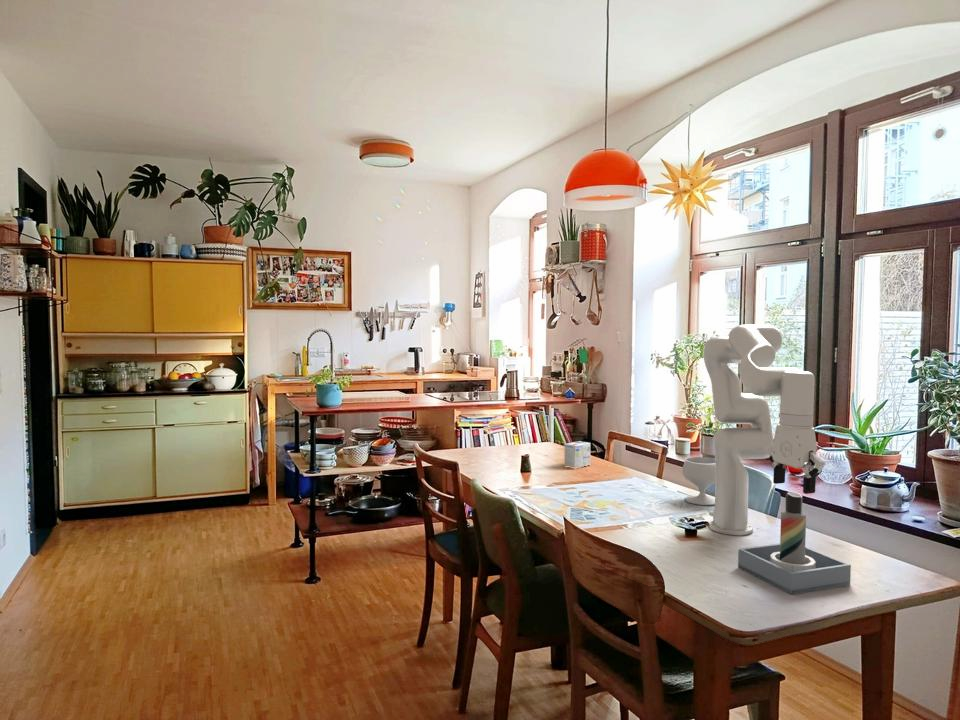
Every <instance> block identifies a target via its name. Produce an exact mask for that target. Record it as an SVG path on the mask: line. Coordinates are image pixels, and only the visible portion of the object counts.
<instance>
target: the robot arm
mask: <svg viewBox="0 0 960 720" xmlns="http://www.w3.org/2000/svg"><path fill="white" fill-rule="evenodd" d="M782 344H783V337H782V334H781V332H780V329H778V328H777V327H776V326H775V325H771V324H740V325H736V326H735V327H733V328H732V329H731V330H730V331H729V333H728V335H726V336H725V335H724V336H723V335H722V336H716V337H712V338H710V339H708V340H707V341H706V342H705V344H704V346H703V361H704V366H705V370H706V371H707V374H708V375H709V378H710V379H709V380H710V383H711V391H712V393H711V394H712V401H713V402H712V403H713V408H714V409H713V410H714V415H715V418H716V420H717V421H718V422H719V423H721V424H726V425H749V426H750V427H725V428H724V427H723V428H721V429H718V430H716V431H715V433H714V434H713V437H712V445H713V452H714V459H715V464H716V480H715V484H714V489H715V490H714V491H715V492H714V498H715V505H714V508H713V509H712V511H709V513H708V515H709V516H711V517H712V521H710V522H709V523H710V527H709V528H710V529H711V530H712V531H714V532H715V533H716V532H717V533H718V534H719V533H720V534H724V535H730V536H746V535H750V534H752V533H753V532H754V528H753V526H752V525H751V524H749V523H748V522H749V521H748V520H749V519H748V518H749V517H748V515H749V472H748V470H747V468H746V467H745V466H744V464H743V463H742V460H748V459H749V460H759V459H760V460H761V459H762V460H763V459H768V458H769V460H770V462H771V467H772V468H773V482H772V483H773V484H775V485H776V484H777V485H779V484H785V482H786V467H785V466H787V467H790V468H794V469H798V470H799V469H801V470H802V471H803V474H804V477H803V479H802V480H803V485H802V488H803V489H802V492H803V494H805V495H807V494H815V493H816V486H817V485H816V480H817V478H818V477H819V475H820V474H821V473H822V472H823V469H824V467H825V465H826V463H825V461H824V460H823V459H822V458H820V457H819V455H817V438H816V432H815V428H814V408H815V407H814V405H815V401H814V400H815V383H816V382H815V381H816V380H815V379H816V378H815V375H814V373H812V372H811V371H807V370H806V371H805V370H801V369H800V368H797V367H771V366H772V364H774V361H775V359H776V353H778V352H779V350H780V349H781V347H782ZM729 364H739V369H738V370H739V371H738V372H739V374H737V373H736V372H735V370H734V369H733V368H732V367H731V366H730V365H729ZM741 383H742V384H743V386H744V387H745V388H746V390H747V391H748V392H749V393H748V392H747V393H744V392H742V386H741ZM765 397H780V399H779V400H780V403H779V414H778V419H779V422H778V423H777V425H776V428H775V431H774V434H773V427H772V419H771V412H770V406H769V404H768V403H769V402H768V401H767V399H766V398H765Z"/></svg>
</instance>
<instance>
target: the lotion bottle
mask: <svg viewBox="0 0 960 720" xmlns="http://www.w3.org/2000/svg"><path fill="white" fill-rule="evenodd" d="M806 532H807V514H806V513H805V512H803V495H801V494H800V493H797V492H796V493H795V492H791V491H789V492H787V493H786V494H785V509H784V510H781V512H780V536H779V540H780V541H779V542H780V561H783V562H786V563H791V564H801V565H802V564H805V546H806Z"/></svg>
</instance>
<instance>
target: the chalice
mask: <svg viewBox="0 0 960 720" xmlns="http://www.w3.org/2000/svg"><path fill="white" fill-rule="evenodd" d="M682 465H683V466H682V475H683V477H684V479H685V480H687V481H689V482H690V483H692V484H694V486H696V487H697V489H698V491H699V494H698V495H689V496H686V497H685V498H684V500H685V502H687V503H690V504H694V505H700V506H715V497H712V496H707V494H706V491H707V489H708V488H709V487H711V486H713V485H715V480H716V464H715V458H713V457H707V456H705V457H704V456H693V457H687V458H686V459H685V460H684V463H683V464H682Z"/></svg>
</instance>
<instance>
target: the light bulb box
mask: <svg viewBox="0 0 960 720" xmlns="http://www.w3.org/2000/svg"><path fill="white" fill-rule="evenodd" d="M563 448H564V449H563V450H564V465H566V466H570V467H574V468H575V467H581V466H587V465H590V466H591V442H587V441H581V440H579V441H573V442H567V443H564V447H563Z"/></svg>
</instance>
